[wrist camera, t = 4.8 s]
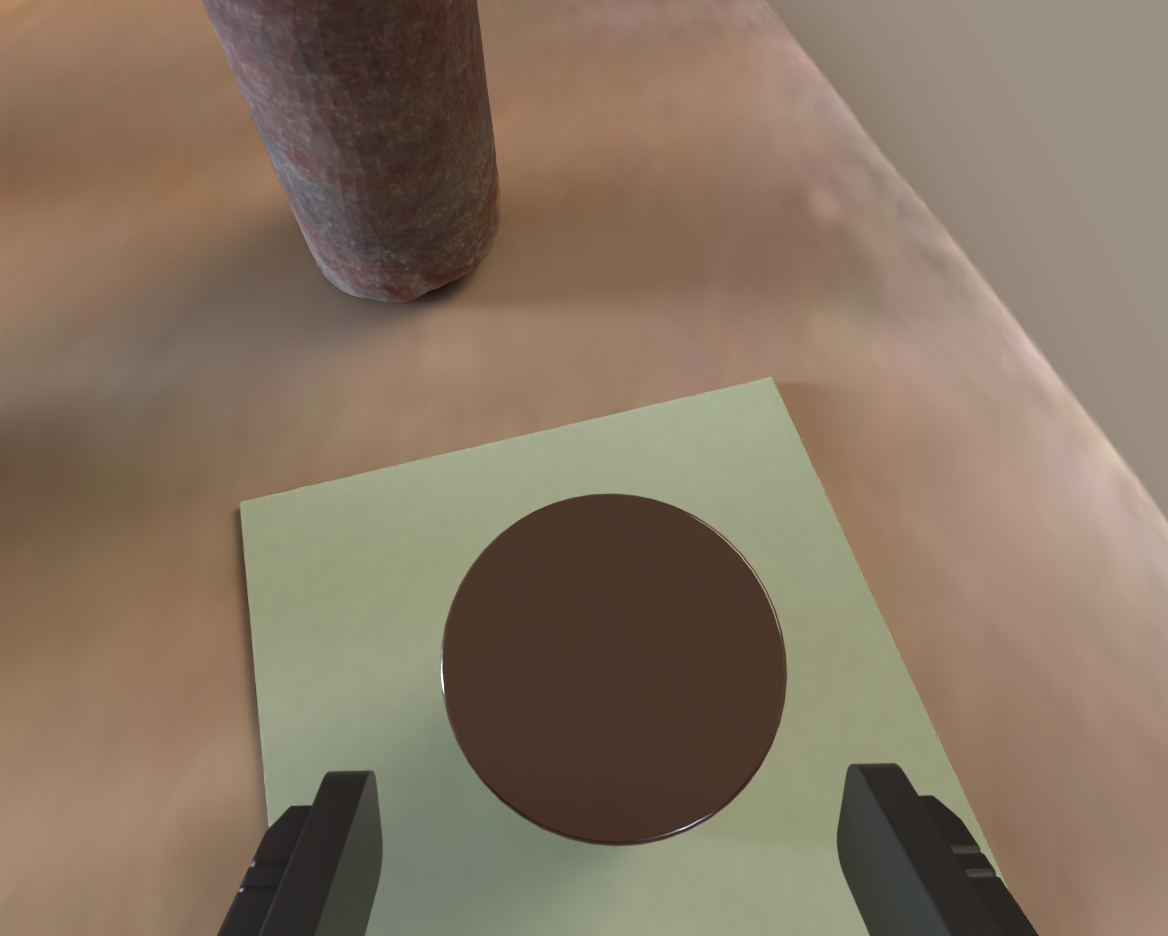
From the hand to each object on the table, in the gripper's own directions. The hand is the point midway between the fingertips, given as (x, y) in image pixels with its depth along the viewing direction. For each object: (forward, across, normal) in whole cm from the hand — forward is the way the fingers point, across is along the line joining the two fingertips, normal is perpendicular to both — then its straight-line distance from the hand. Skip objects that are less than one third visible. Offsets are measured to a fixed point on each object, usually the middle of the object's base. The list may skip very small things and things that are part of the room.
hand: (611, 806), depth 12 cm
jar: (+7, 0, +4) cm, 8 cm away
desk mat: (+7, 0, +4) cm, 8 cm away
